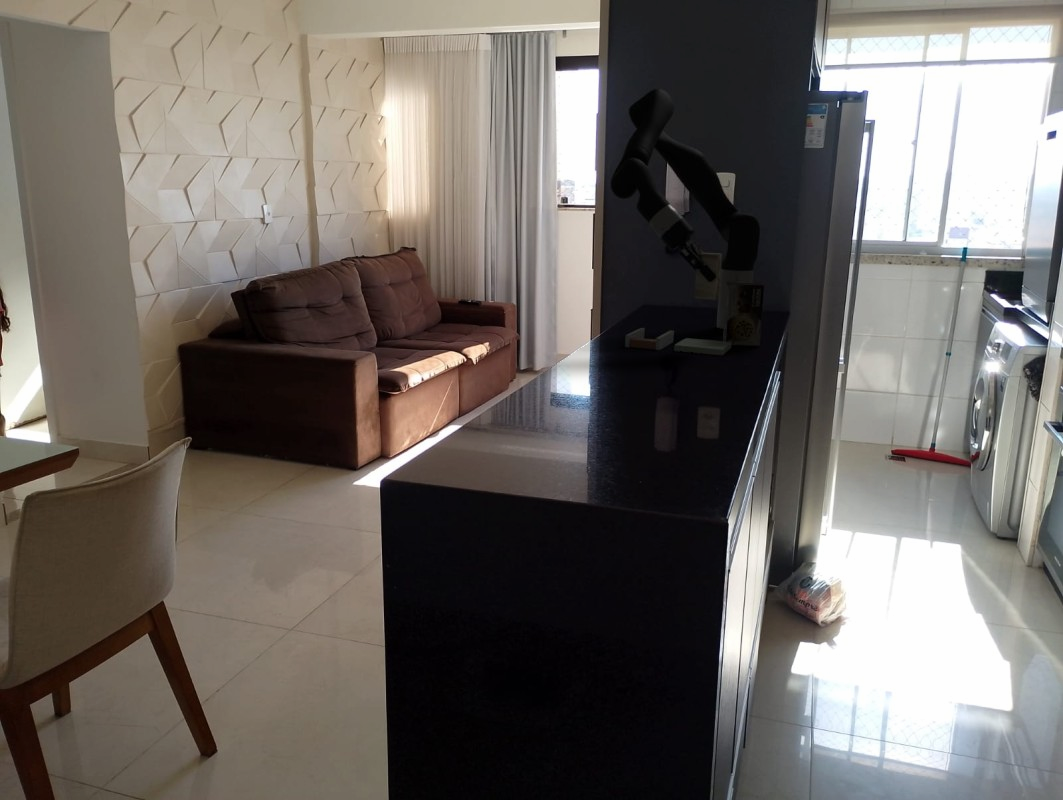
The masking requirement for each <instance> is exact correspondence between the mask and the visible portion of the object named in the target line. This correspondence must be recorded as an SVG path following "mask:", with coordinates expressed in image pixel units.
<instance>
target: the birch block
mask: <svg viewBox="0 0 1063 800" xmlns="http://www.w3.org/2000/svg"><path fill="white" fill-rule="evenodd" d="M697 255H698V254H697ZM701 255H702V259H703V260H704V262H706V264H707V265H706V266H708V267H709V268H710V269H711V270H712V271H713V273H714V274H715V275H716V278H715V279H714V280H713V281H711V282H709V281H708V280H707V279H706V278H705V277H704V276H703V275H702V273H701V272H700V271H697V270H695V271H696V272H695V283H694V299H696V300H711V301H715V300H718V299H719V288H720V274H721V262H722V259H723V257H722V256H723V253H717V252H716V253H715V252H706V253H701ZM697 262H698V261H697Z"/></svg>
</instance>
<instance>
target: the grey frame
mask: <svg viewBox="0 0 1063 800" xmlns="http://www.w3.org/2000/svg"><path fill="white" fill-rule="evenodd" d="M645 329H646V328H645V327H640V328H638V329H636V330H634V331H632V332H629V333H628V334H625V337H624V338H625V341H624V342H625V343H624V344H625V345H624V348H634V349H635V348H636V349H637V348H638V349H645V350H647V349H648V350H656V351H661V350H662V349H664V348H665V347H668V346H669V345H671V344H673V343H674V336H675V335H674V334H675V330H671V329H670V330H668V331H666V332H665V333H663V334H661V335H660V336H657V337H655V339H652V338H645ZM660 349H661V350H660Z"/></svg>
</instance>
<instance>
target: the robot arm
mask: <svg viewBox="0 0 1063 800" xmlns="http://www.w3.org/2000/svg"><path fill="white" fill-rule="evenodd" d="M674 111H675V106H674V102H673V99H672V97H671V96H670V94H669V93H668V92H667V91H665V90H664V89H663V88H654V89H651V90H650V91H648V92H647V93H646V94H644V95H643V96H642V97H640V98H639V99H638V100H636V101H635V102H634V103H633V104H631V105H630V107H628V116H629V118H630V121H631V122H632V124H633V126H634V127H635V130H634V132H633V133H632V135H631V136H630V138H629V139H628V141H627V143H626V145H625V147H624V152H623V155H622V158H621V159H620V162H619V163H618V165H617V167H616V169H615V170H614V172H613V174H612V175H611V178H610V183H609V184H610V189H611V192H612V193H613V194H614V196H616V197H617V198H620V199H621V200H622V199H623V200H624V199H629V198H631V197H633V196H634V195H635V194H636V193H637V192H638V193H639V197H638V200H637V203H636V206H635V207H636V210H637V211H638V213H639V214H640V215H641V216H642V217H643V218H644V220H645V221H646V222H647V223H648V224H649V225H650V227H651V229H652V231H654V233H655V234H656V235H657V236H658V237H659V238H660V240H661V241H662V242H663V244H665V246H666V247H667V248H668V249H669V250H670V251H672V252H674V251H675V250H677V249H679V250H680V251H679V252H678V253H679V255H680V256H681V257H682V258H683V259H684V260H685V261H686V262H687V263H688V264H689V265H690V266H691V267H692V268H693V270H695V271H696V270H697V271H700V272H701V273H702V275H703V276H704V277H705V278H706V279H707V280H708V281H709V282H711V281H713V280H714V279H715V278H716V275H715V274H714V273H713V271H712V270H711V269H710V268H709V267H708V266H706V265H707V264H706V262H704V260H703V259H702V255H701V253H707V252H706V251H705V249H704V248H703V247H702V246H701V244H700V243H699V242H696V241H695V242H694V241H693V240H692V239H691V237H692V236H693V235H694V233H695V229H694V228H693V227H692V226H691V225H690V224H689V222H688V221H687V220H686V219H685V218H684V217H683V216H682V214H681V213H680V212H679V211H678V209H676V208H675V207H674V206H672V204H671V203H670V202H669V200H667V198H666V197H665V196H664V195H663V194H662V193H661V191H660V189H659V187H658V185H657V183H656V181H655V179H654V178H653V177H654V176H653V175H652V173H651V171H650V169H649V168H648V166H649V164H650V161H651V157H652V155H653V152H654V150H656V151H657V152H658V154H660V156H661V157H662V159H663V160H664V161H665V162H666V164H668V166H669V167H670V169H671V170H672V171H673V172H674V175H675V176H676V177H677V178H678V179H679V181H680V182H681V184H682V185H683V186H684V188H686V190H687V192H689V194H690V195H691V196H692V197H693V199H694V200H695V201H696V202H697V203H698V204H699V206H700V207H701V208H702V209H703V210H704V212H705V213H706V214H707V215H708V216H709V218H710V220H711V222H712V223H713V225H714V226H715V228H716V229H717V231H718V233H719V235H720V236H721V238H722V239H723V240H724V241H725V242H726V243H727V246H726V247H727V250H726V253H725V256H724V257H722V258H721V271H720V284H719V297H718V302H717V315H716V328H718V329H721V330H724V317H725V303H726V289H727V282H753V278H754V267H755V263H756V261H757V258H758V253H759V246H760V245H759V244H760V238H761V237H760V236H761V235H760V234H761V229H760V228H761V227H760V222H759V220H758V218H757V217H755V215H752V214H750V213H746V212H745V213H744V212H741V211H740V210H739V209H738V208H737V207H736V206H735V205H734V204H733V202H731V200H730V199H729V198H728V196H727V195H726V193H725V191H724V188H723V186H722V183H721V181H720V178H719V175H718V173H717V172H716V170H715V168H714V167H713V165H712V164H711V162H710V161H709V160H708V159H707V157H706V156H705V155H704V154H703V152H701V151H700V150H698V149H697V148H695V147H692V146H689V145H687V144H685V143H682V142H680V141H676V140H675V139H673V138H671V137H670V136H669V135H668V134H667V133H666V132H665V131H664V130H665V127H666V126H667V125H668V123H669V121H670V120H671V119H672V117H673V115H674ZM697 254H698V255H697ZM697 261H698V262H697Z"/></svg>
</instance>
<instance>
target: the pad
mask: <svg viewBox="0 0 1063 800" xmlns="http://www.w3.org/2000/svg"><path fill="white" fill-rule="evenodd" d="M732 346H733V345H732V342H724V341H723V340H722V341H721V340H714V339H713V340H712V339H701V338H700V339H699V338H690V337H685V338H684V339H682V340H680V341H679V342H677V343H676V344H674V347H673V348H674V349H673V351H674V352H680V351H682V352H683V353H691V352H693V353H694V354H701V353H702V354H703V355H714V356H723V355H725V354H726V353H727V352H728V351H729V350H730V349H732ZM682 352H681V353H682ZM693 353H692V354H693Z"/></svg>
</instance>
